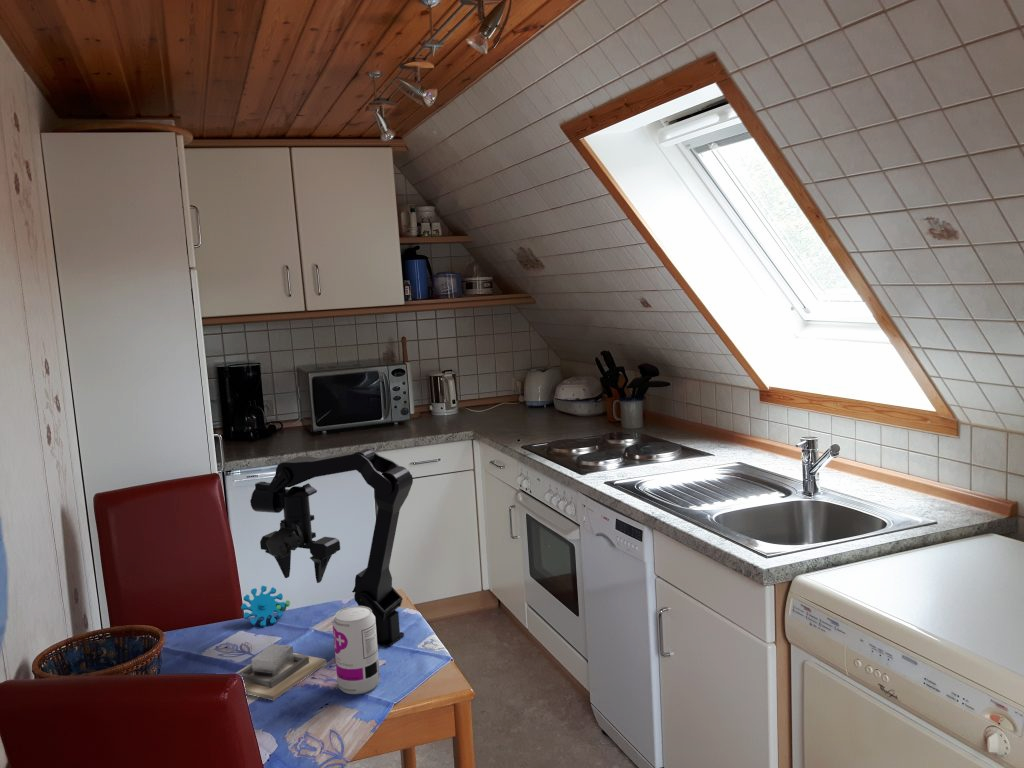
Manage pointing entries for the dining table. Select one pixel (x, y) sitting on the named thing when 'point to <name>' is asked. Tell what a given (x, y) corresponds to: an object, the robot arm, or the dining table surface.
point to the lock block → (272, 661)
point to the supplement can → (356, 650)
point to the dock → (280, 677)
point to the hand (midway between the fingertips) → (302, 579)
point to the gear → (264, 606)
